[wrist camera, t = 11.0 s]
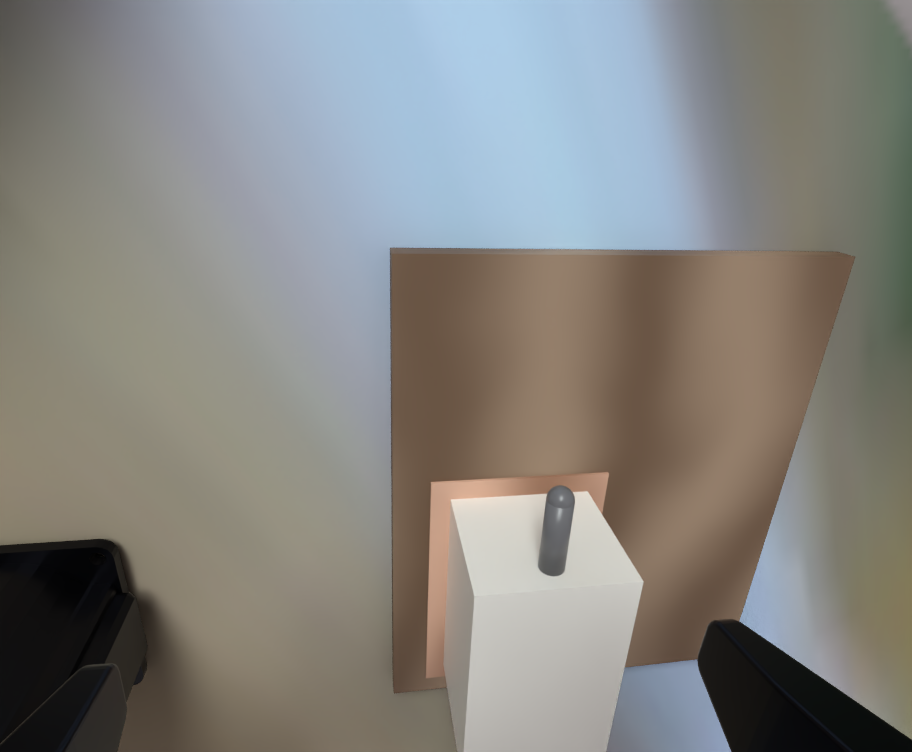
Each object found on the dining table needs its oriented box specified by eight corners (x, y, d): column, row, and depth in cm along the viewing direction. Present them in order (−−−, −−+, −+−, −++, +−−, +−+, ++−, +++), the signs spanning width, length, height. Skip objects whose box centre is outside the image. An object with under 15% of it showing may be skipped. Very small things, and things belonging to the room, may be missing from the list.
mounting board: (392, 676, 24) (397, 754, 21) (390, 247, 17) (397, 275, 14) (718, 641, 27) (763, 706, 24) (836, 251, 19) (923, 275, 16)
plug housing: (443, 664, 23) (461, 780, 19) (453, 428, 19) (480, 513, 15) (562, 651, 24) (604, 760, 20) (598, 422, 20) (661, 501, 16)
